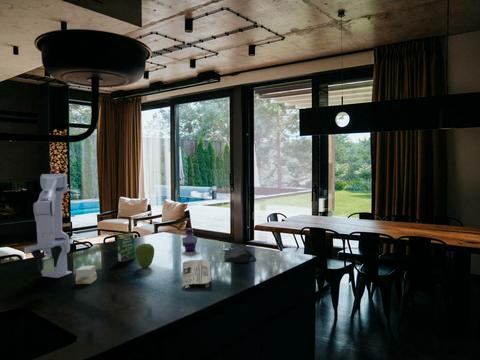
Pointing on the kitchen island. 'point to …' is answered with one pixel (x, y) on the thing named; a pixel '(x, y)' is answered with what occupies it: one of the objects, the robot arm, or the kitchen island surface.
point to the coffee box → (125, 247)
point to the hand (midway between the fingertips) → (47, 268)
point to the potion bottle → (189, 241)
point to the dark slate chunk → (238, 255)
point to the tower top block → (85, 271)
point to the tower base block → (86, 279)
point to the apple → (144, 255)
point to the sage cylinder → (47, 265)
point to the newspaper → (196, 272)
